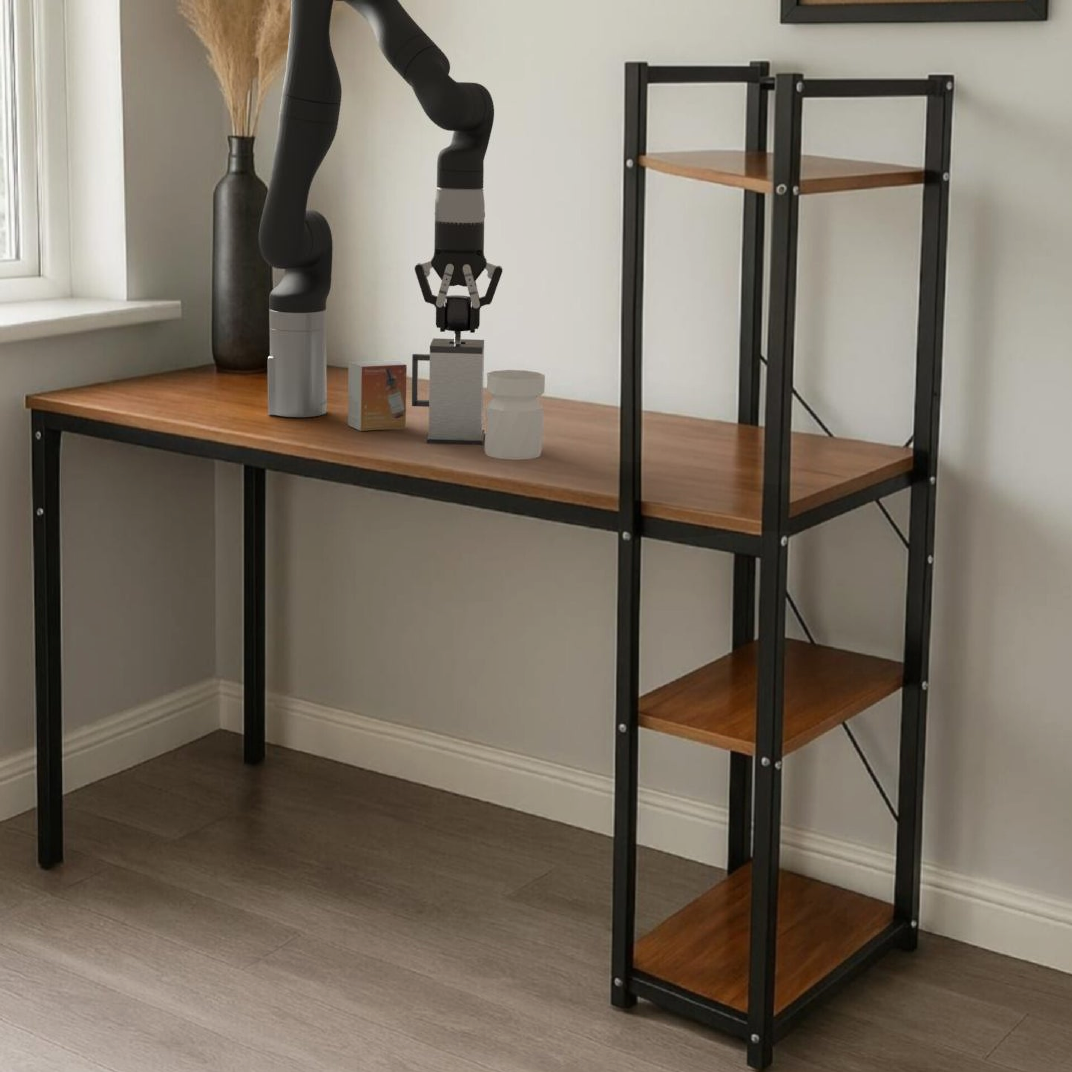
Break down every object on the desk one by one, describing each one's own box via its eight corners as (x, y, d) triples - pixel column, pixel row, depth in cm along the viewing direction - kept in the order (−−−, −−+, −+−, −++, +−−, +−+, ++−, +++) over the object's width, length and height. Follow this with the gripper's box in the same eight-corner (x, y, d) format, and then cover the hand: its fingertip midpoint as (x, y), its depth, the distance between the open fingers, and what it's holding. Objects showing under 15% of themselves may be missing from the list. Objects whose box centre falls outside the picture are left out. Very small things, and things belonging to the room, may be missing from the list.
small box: (360, 432, 265) (360, 366, 263) (347, 425, 270) (347, 360, 268) (407, 429, 269) (407, 363, 266) (393, 422, 274) (393, 358, 271)
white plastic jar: (497, 461, 248) (499, 380, 245) (476, 449, 256) (477, 371, 252) (551, 457, 251) (554, 378, 248) (528, 446, 259) (531, 368, 256)
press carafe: (409, 442, 259) (410, 345, 255) (413, 431, 267) (414, 337, 263) (482, 444, 259) (484, 347, 255) (484, 433, 267) (486, 339, 263)
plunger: (438, 434, 260) (440, 298, 255) (440, 427, 265) (442, 294, 260) (471, 435, 260) (474, 299, 255) (473, 428, 265) (475, 295, 260)
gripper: (410, 219, 251) (409, 333, 255) (506, 221, 251) (503, 336, 255) (414, 215, 258) (413, 327, 262) (507, 218, 258) (504, 329, 262)
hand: (457, 331), depth 259 cm, fingers closed on plunger, 4 cm apart
